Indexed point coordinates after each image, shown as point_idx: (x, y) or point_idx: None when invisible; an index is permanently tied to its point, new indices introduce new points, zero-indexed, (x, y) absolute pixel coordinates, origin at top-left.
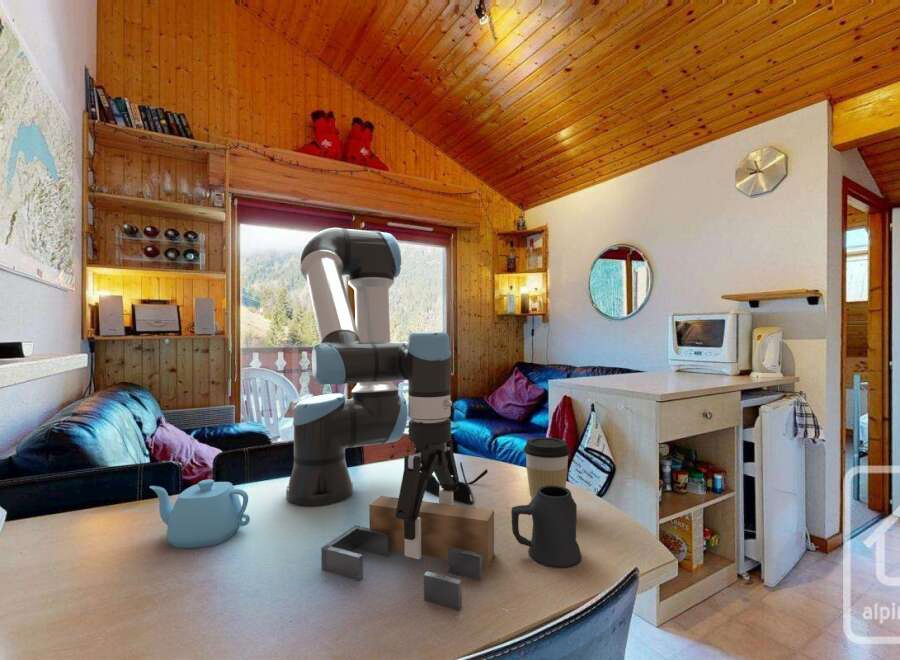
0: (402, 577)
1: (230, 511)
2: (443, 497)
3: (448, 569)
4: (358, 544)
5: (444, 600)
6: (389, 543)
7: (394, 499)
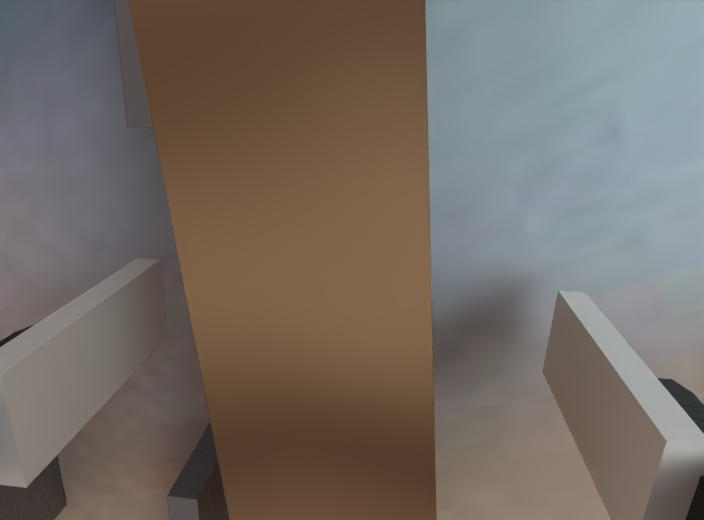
0: (103, 261)
1: None
2: (628, 441)
3: (205, 432)
4: None
5: None
6: None
7: (363, 5)
